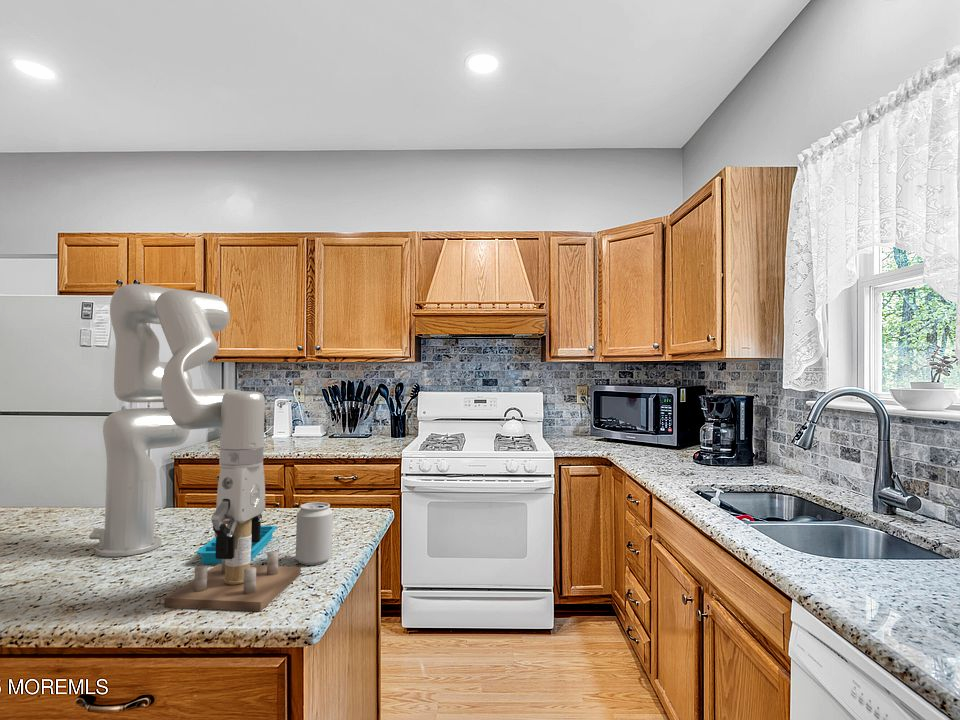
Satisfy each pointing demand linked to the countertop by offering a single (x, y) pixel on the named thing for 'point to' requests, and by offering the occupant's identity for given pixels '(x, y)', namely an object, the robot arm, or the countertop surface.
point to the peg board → (234, 587)
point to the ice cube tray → (265, 536)
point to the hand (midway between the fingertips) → (238, 549)
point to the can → (314, 533)
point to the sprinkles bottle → (239, 554)
